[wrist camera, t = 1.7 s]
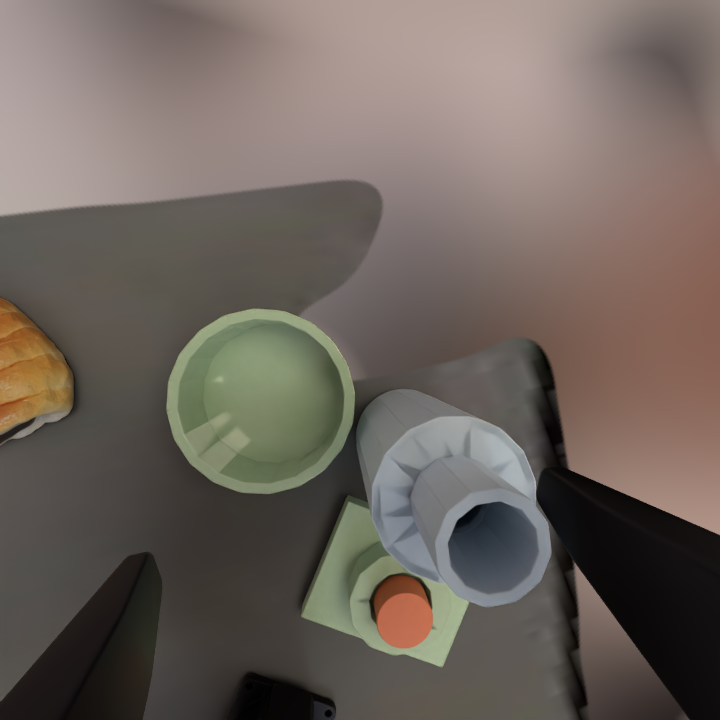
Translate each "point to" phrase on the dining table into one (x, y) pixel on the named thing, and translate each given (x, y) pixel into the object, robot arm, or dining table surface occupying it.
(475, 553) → the bottle
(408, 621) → the button
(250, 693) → the robot arm
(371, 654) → the dining table surface
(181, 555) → the dining table surface
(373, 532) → the panel
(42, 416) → the pastry
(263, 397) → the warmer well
